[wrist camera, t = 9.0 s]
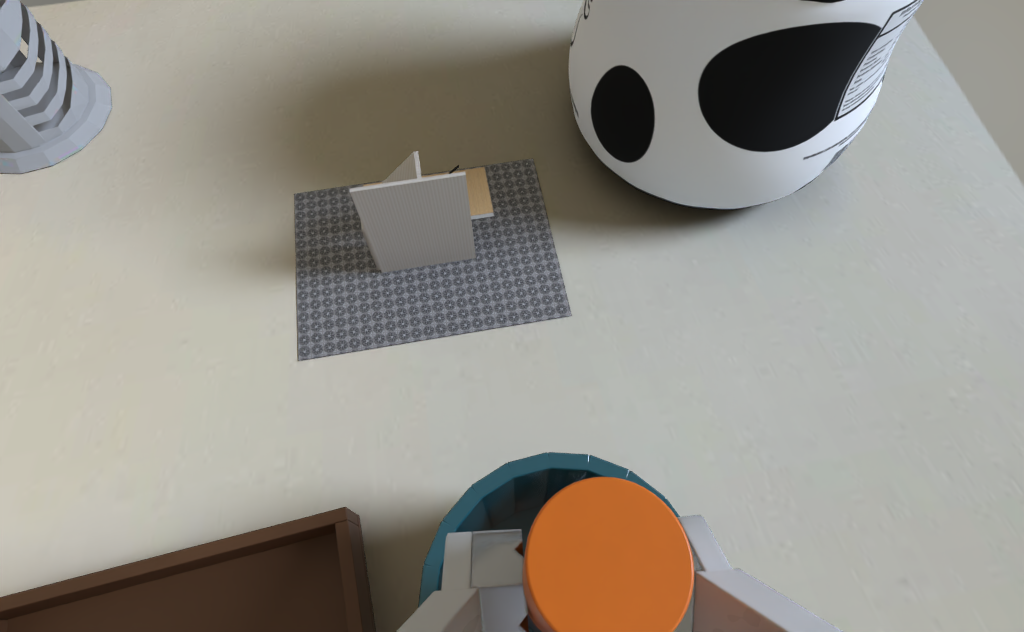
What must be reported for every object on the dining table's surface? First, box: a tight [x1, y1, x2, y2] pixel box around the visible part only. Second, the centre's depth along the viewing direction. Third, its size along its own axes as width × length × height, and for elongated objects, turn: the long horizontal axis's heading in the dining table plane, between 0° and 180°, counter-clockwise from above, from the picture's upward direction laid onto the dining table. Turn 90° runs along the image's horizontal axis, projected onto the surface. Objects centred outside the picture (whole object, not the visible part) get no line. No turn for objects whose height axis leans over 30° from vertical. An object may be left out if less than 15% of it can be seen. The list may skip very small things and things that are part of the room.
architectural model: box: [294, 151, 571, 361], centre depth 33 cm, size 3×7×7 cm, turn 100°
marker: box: [522, 477, 694, 632], centre depth 15 cm, size 2×2×16 cm
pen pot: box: [418, 452, 680, 632], centre depth 24 cm, size 10×10×8 cm
